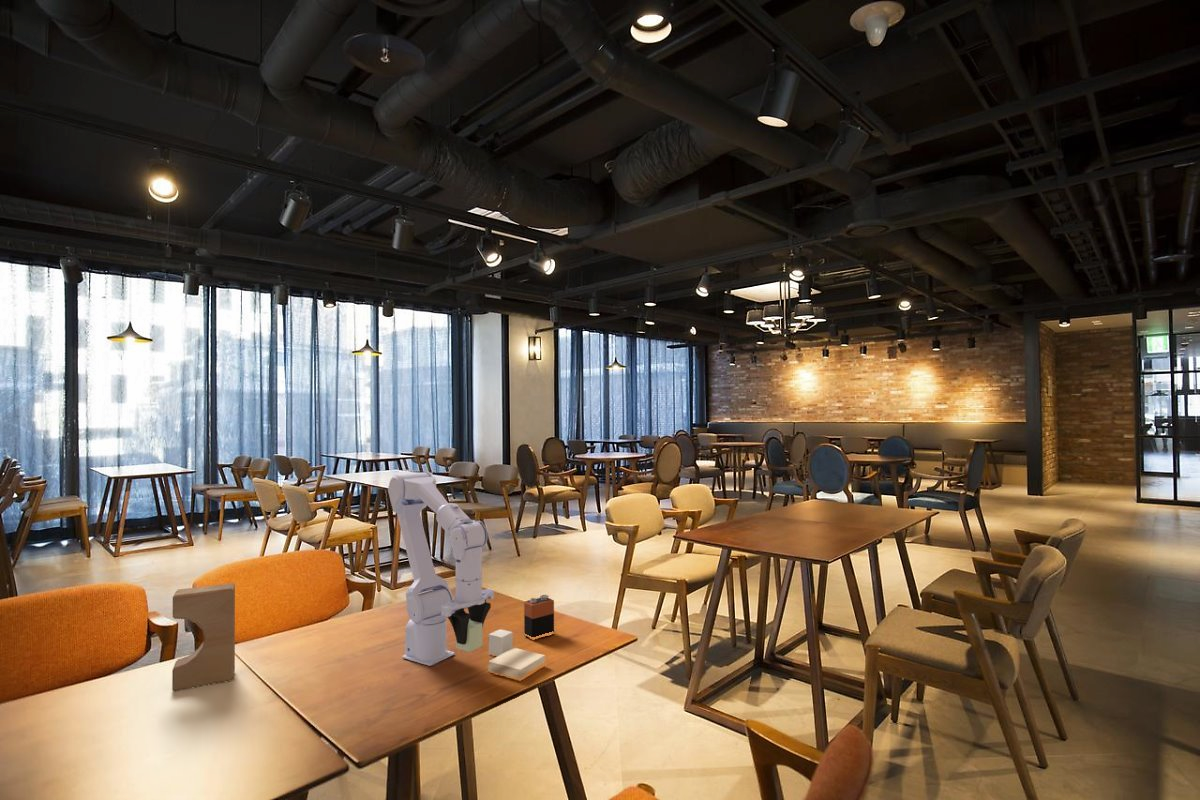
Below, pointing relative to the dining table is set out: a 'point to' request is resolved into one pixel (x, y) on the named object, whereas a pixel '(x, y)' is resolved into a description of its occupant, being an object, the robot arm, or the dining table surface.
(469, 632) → the sage block
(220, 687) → the dining table surface
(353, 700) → the dining table surface
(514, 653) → the birch base block
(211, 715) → the dining table surface
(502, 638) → the grey block
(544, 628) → the battery
